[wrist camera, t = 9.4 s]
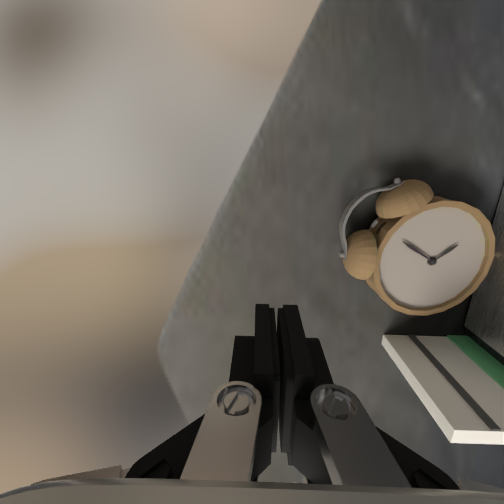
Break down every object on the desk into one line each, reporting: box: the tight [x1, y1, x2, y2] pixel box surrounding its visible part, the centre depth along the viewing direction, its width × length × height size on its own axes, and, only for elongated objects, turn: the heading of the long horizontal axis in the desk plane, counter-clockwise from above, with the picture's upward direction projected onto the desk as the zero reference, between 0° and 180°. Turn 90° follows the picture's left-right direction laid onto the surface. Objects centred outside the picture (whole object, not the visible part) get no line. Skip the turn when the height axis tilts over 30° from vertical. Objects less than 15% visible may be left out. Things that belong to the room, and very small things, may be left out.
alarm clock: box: [339, 178, 495, 316], centre depth 27 cm, size 11×5×15 cm
